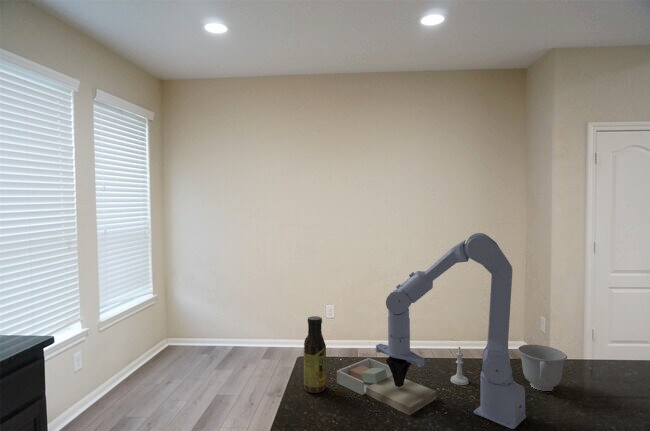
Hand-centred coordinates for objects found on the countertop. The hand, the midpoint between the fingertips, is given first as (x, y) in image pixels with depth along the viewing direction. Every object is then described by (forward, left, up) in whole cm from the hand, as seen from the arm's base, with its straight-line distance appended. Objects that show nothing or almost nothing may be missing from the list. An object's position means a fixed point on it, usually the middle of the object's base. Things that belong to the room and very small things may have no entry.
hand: (399, 385), depth 100 cm
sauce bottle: (+18, +14, -3) cm, 23 cm away
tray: (+12, 0, -3) cm, 12 cm away
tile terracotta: (+14, 0, -2) cm, 14 cm away
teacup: (-25, -32, -3) cm, 40 cm away
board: (-1, 0, -3) cm, 3 cm away
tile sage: (+8, 0, -1) cm, 9 cm away
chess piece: (-7, -20, -3) cm, 21 cm away
